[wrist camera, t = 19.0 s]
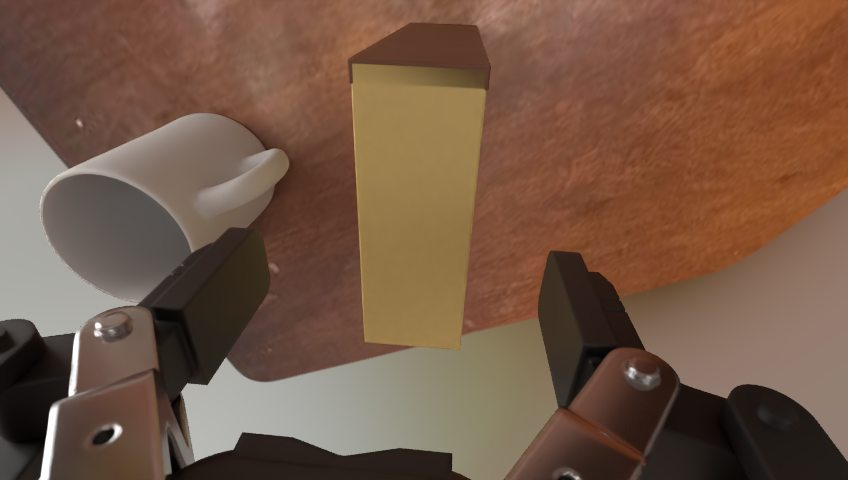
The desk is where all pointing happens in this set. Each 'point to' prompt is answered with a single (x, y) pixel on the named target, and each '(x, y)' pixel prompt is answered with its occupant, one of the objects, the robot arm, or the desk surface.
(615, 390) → the robot arm
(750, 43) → the desk surface
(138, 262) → the mug
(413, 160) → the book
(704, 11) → the desk surface
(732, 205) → the desk surface
